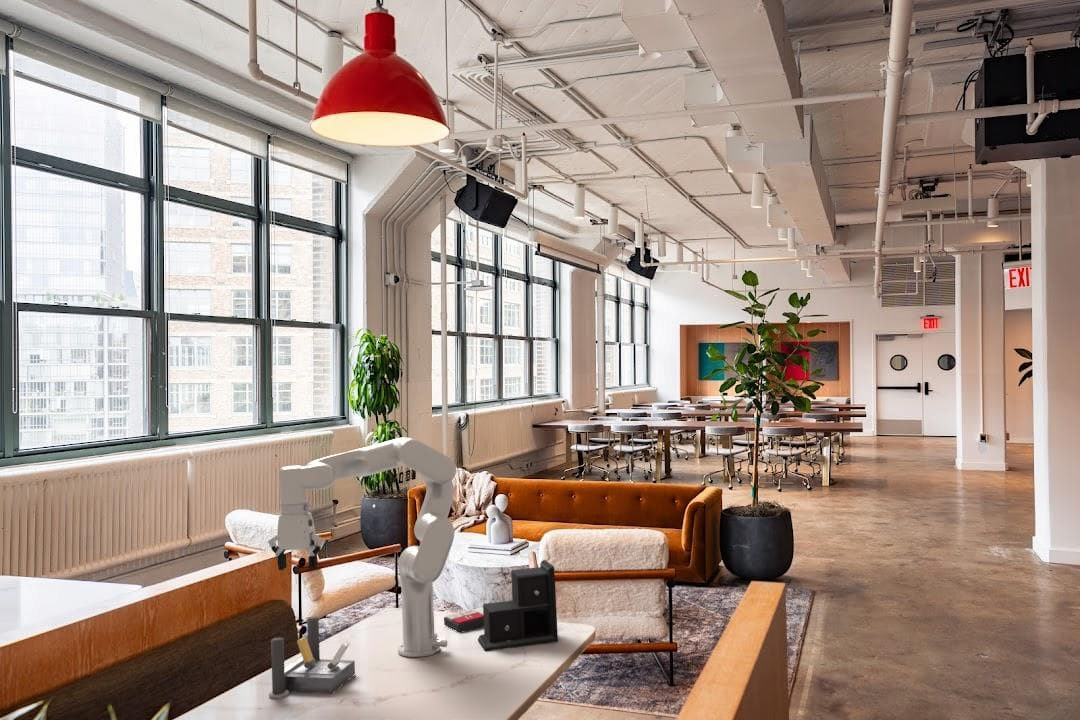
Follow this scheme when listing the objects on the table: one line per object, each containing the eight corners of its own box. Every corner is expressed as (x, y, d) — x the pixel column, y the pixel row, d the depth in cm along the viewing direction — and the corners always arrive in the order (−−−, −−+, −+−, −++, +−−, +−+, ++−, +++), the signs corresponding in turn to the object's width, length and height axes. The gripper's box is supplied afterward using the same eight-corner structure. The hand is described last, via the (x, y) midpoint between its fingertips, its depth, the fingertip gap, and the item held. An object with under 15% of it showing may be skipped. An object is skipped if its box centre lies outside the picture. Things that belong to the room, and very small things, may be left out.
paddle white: (337, 665, 235) (351, 643, 234) (331, 670, 232) (345, 647, 231) (332, 662, 235) (346, 639, 235) (326, 666, 232) (341, 643, 231)
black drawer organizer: (484, 651, 256) (481, 573, 257) (477, 641, 267) (475, 566, 267) (558, 642, 262) (556, 566, 263) (549, 632, 273) (546, 559, 273)
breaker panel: (354, 674, 240) (354, 657, 240) (332, 693, 226) (332, 675, 226) (302, 672, 243) (302, 655, 243) (277, 690, 229) (277, 672, 229)
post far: (326, 666, 247) (324, 615, 248) (318, 672, 243) (316, 620, 243) (310, 666, 248) (308, 615, 249) (302, 672, 244) (300, 620, 244)
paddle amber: (316, 662, 236) (306, 636, 237) (310, 667, 233) (300, 640, 234) (311, 664, 237) (302, 637, 237) (305, 668, 233) (295, 641, 234)
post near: (292, 692, 228) (290, 636, 228) (282, 699, 223) (281, 642, 223) (275, 691, 229) (273, 636, 229) (265, 698, 224) (263, 642, 224)
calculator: (443, 615, 285) (482, 605, 293) (444, 627, 285) (483, 617, 293) (457, 622, 276) (497, 611, 284) (458, 635, 276) (499, 624, 284)
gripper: (328, 506, 244) (331, 566, 244) (274, 507, 249) (278, 565, 248) (315, 511, 237) (318, 572, 237) (260, 512, 241) (263, 572, 241)
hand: (297, 569), depth 243 cm, fingers open, 9 cm apart
